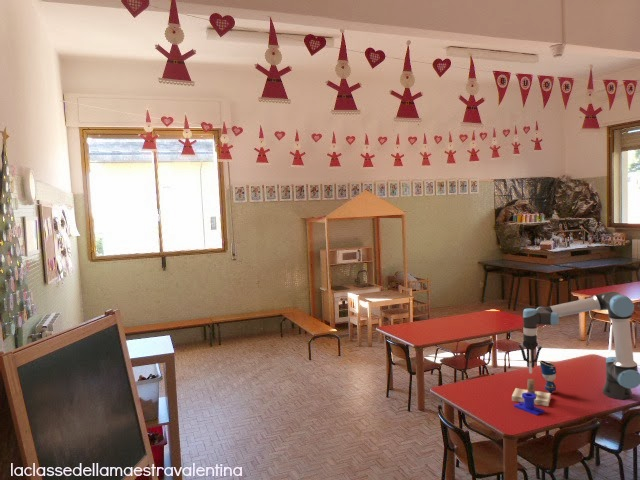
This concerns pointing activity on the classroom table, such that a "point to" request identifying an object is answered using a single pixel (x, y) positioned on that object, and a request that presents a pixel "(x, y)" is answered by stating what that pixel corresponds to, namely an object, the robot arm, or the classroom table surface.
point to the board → (541, 399)
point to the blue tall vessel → (549, 375)
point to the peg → (531, 386)
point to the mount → (529, 404)
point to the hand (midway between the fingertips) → (530, 372)
